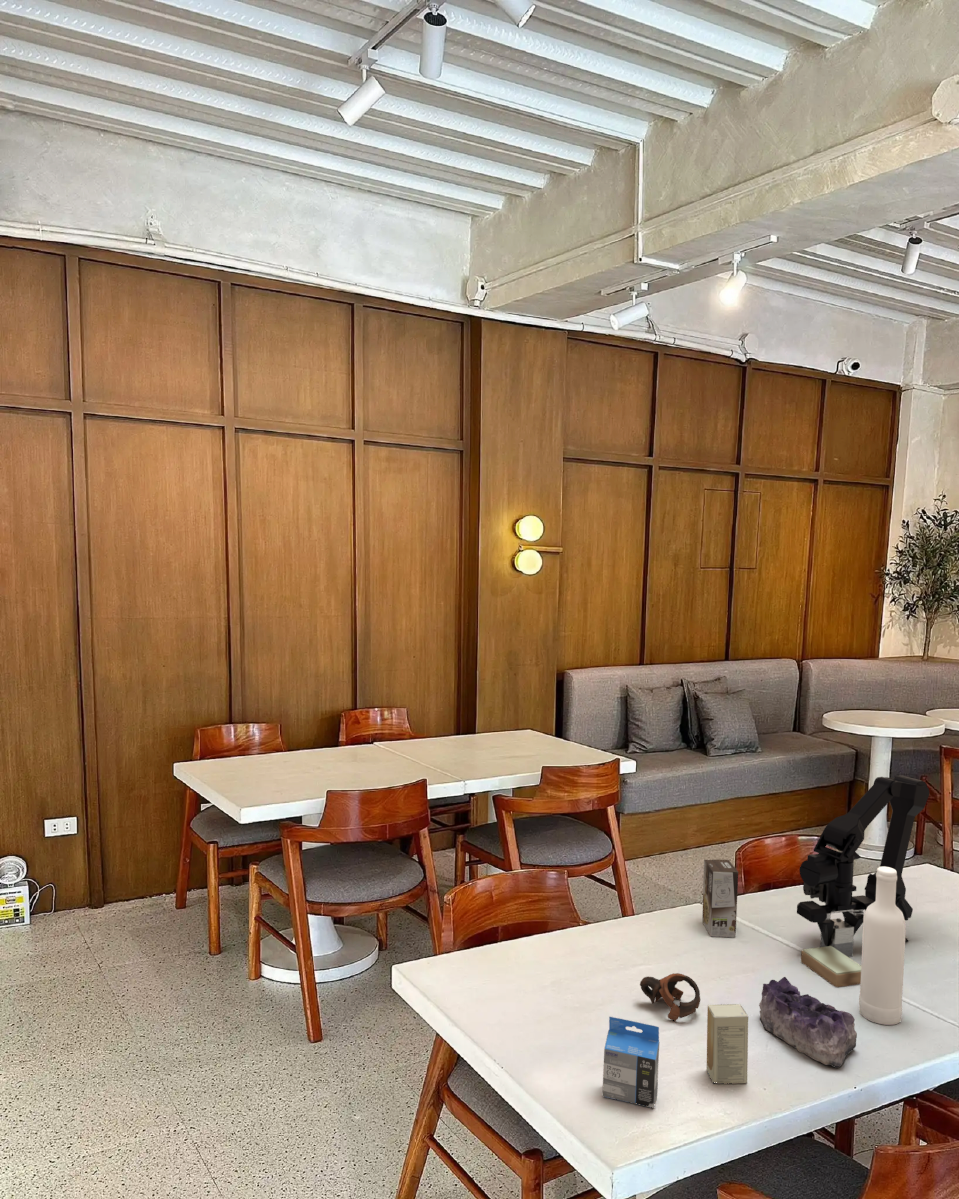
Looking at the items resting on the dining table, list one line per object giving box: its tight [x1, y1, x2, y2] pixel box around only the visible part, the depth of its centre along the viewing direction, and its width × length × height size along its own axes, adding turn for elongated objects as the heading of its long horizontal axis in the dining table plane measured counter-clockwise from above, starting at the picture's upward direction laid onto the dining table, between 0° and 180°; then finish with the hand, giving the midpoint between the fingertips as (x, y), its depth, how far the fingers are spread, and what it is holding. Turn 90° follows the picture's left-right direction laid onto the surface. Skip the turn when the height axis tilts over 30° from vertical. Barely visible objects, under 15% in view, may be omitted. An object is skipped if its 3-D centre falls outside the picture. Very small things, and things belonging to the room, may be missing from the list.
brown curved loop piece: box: [639, 972, 701, 1022], centre depth 178 cm, size 12×10×8 cm
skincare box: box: [706, 1003, 749, 1085], centre depth 155 cm, size 6×4×12 cm
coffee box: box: [702, 859, 739, 938], centre depth 217 cm, size 9×6×16 cm
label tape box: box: [602, 1016, 660, 1109], centre depth 149 cm, size 9×4×12 cm, turn 69°
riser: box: [800, 946, 861, 988], centre depth 196 cm, size 8×12×3 cm, turn 16°
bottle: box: [858, 866, 907, 1026], centre depth 177 cm, size 8×8×30 cm
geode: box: [758, 976, 858, 1069], centre depth 168 cm, size 20×12×10 cm, turn 34°
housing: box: [819, 918, 855, 958], centre depth 206 cm, size 5×5×7 cm
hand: (836, 944), depth 206 cm, fingers closed on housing, 5 cm apart
